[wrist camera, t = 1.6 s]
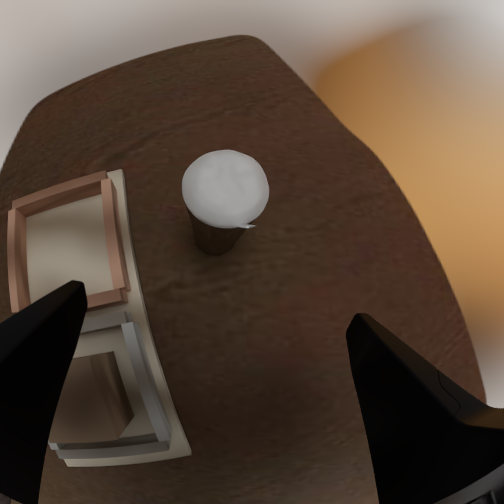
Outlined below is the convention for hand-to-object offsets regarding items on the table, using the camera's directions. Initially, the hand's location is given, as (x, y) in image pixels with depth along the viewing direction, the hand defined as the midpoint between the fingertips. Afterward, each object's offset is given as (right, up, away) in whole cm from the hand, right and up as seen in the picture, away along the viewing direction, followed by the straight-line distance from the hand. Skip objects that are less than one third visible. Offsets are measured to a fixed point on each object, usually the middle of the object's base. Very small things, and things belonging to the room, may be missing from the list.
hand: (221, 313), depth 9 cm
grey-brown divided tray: (-12, -4, +10) cm, 16 cm away
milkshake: (-2, +3, +14) cm, 14 cm away
